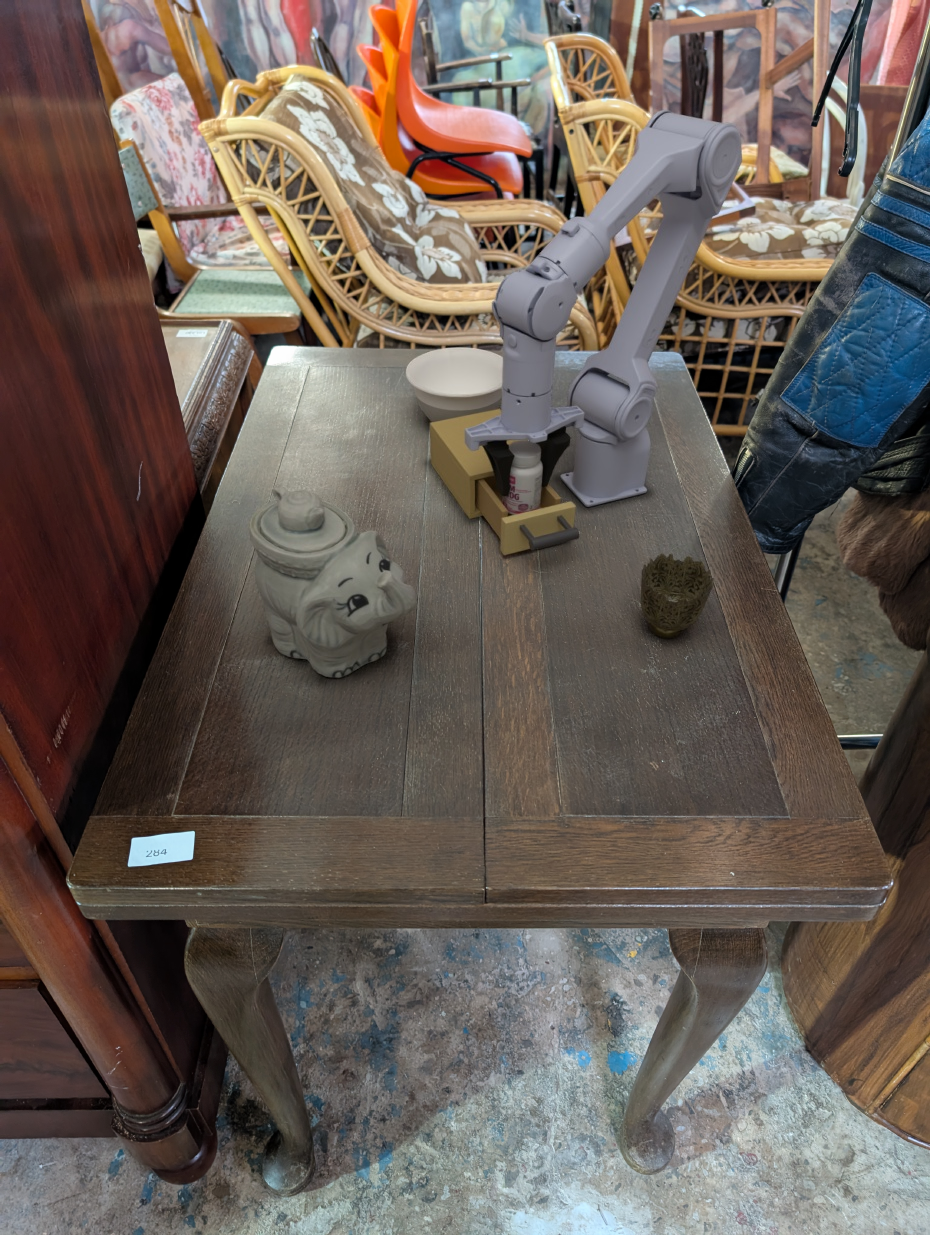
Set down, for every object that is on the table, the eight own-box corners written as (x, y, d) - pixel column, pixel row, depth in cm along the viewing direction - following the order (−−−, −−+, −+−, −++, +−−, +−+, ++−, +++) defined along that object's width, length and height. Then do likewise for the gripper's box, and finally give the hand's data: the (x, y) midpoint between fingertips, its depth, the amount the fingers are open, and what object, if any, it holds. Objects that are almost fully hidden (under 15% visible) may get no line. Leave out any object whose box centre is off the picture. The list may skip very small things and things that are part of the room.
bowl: (419, 454, 116) (416, 400, 110) (400, 403, 127) (396, 352, 121) (523, 441, 119) (526, 388, 113) (495, 392, 130) (497, 342, 124)
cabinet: (542, 501, 107) (545, 459, 102) (469, 519, 104) (469, 476, 100) (498, 449, 117) (499, 408, 112) (431, 463, 114) (429, 422, 110)
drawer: (589, 557, 97) (593, 525, 93) (518, 576, 94) (520, 543, 91) (526, 482, 109) (528, 452, 105) (463, 497, 106) (462, 466, 103)
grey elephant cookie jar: (423, 693, 82) (415, 548, 69) (275, 719, 79) (238, 573, 66) (397, 591, 93) (386, 451, 81) (267, 610, 91) (234, 469, 78)
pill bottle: (496, 512, 100) (498, 454, 94) (509, 492, 103) (512, 435, 97) (532, 521, 98) (536, 462, 92) (544, 500, 101) (549, 442, 96)
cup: (703, 615, 90) (718, 560, 85) (695, 659, 85) (710, 604, 80) (637, 601, 92) (648, 546, 87) (625, 643, 87) (636, 588, 81)
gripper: (481, 413, 85) (480, 517, 94) (601, 389, 88) (589, 491, 98) (457, 385, 89) (458, 487, 99) (572, 363, 93) (562, 463, 103)
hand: (522, 487), depth 98 cm, fingers closed on pill bottle, 5 cm apart
